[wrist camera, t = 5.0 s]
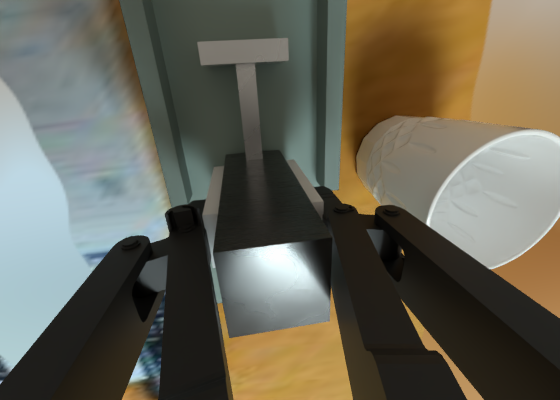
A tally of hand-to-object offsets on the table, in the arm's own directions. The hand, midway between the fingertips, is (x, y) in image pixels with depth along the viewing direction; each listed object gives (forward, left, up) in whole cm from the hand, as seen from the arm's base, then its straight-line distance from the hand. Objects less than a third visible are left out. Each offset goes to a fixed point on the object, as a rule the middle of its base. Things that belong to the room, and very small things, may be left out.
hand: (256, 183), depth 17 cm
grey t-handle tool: (0, -1, -1) cm, 2 cm away
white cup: (+12, 0, -4) cm, 12 cm away
